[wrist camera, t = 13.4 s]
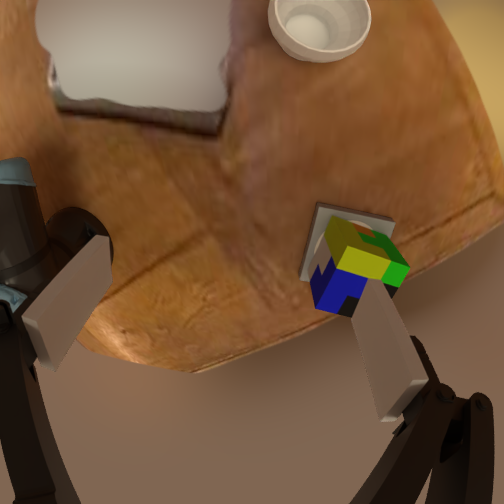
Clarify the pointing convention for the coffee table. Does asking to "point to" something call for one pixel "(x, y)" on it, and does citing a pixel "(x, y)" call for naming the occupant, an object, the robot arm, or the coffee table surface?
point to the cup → (319, 27)
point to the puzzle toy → (352, 266)
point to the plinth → (354, 216)
